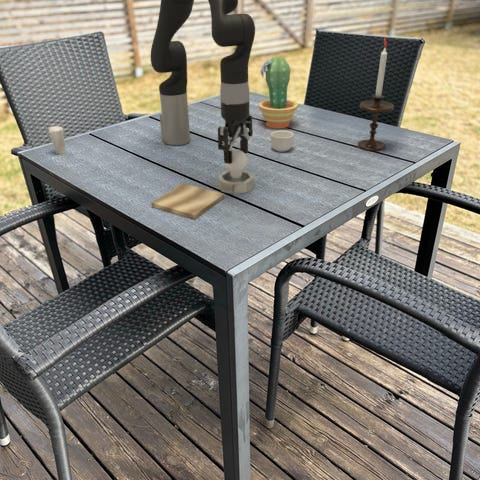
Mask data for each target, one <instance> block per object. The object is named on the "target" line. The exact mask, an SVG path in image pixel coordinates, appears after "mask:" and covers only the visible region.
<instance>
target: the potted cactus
mask: <svg viewBox="0 0 480 480" xmlns="http://www.w3.org/2000/svg"><path fill="white" fill-rule="evenodd" d="M291 69H292V68H291V66H290V64H289V63H288V61H287V60H286V57H284V56H283V57H282V56H281V55H280V56H274V57H273V56H272V58H270V59H268V60H266V61H264V63H263V65H262V67H261V69H260V74H261V77H262V78H264V77H265V82H266V84H267V88H268V95H269V99H267V100H262V101H260V102H259V103H257V105H258V106H257V107H258V109H259V110H260V111H261V115H262V117H263V118H264V120H265V121H266V123H265V125H266V127H268V128H270V129H285V128H288V127H289V126H290V121H291V120H292V119H293V118H294V115H295V113H296V111H297V110H298V108H299V103H298V102H296V101H294V100H291V99H288V86H289V84H290V83H289V82H290V80H291V79H290V77H291ZM264 73H265V75H264Z"/></svg>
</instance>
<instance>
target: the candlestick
mask: <svg viewBox="0 0 480 480" xmlns="http://www.w3.org/2000/svg"><path fill="white" fill-rule="evenodd" d="M383 42H384V43H383V47H384V48H383V50H382V51H381V53H380V59H379V68H378V74H377V81H376V88H375V94H374V95H371V97H372V98H374V99H371V100H362V101H361V102H359V108H360V109H361V110H363V111H364V112H370V113H373V115H372V116H373V117H372V122H371V123H369V127H370V130H369V131H368V133H369V134H370V137H369V139H362V140H359V141H358V142H357V148H358V149H360V150H363V151H366V152H381V151H383V150H384V149H385V148H386V144H385V143H384V142H383V141H380V140H376V139H375V136H376V134H377V133H378V132H377V130H376V129H378V127H379V123H377V122H378V115H379V114H381V113H383V114H384V113H389V112H392V111H394V108H395V104H394V103H392V102H389V101H387V100H386V101H385V100H382V99H384V98H385V96H384V95H383V94H382V93H383V88H384V87H383V86H384V78H385V73H386V65H387V64H386V63H387V60H388V52H387V45H388V44H387V39H386V37H384V38H383Z"/></svg>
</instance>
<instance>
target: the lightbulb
mask: <svg viewBox="0 0 480 480" xmlns="http://www.w3.org/2000/svg"><path fill="white" fill-rule="evenodd" d="M224 165H225V168H226V169H227V171H228V170H229V172H230V175H231V178H232V179H231V180H232V181H231V182H234V183H235V182H242V181H241V175H242V172H243V170H244V171H245V168H246V166H247V165H248V157H247V154H245V153H244V152H243V151H241V150H240V148H239V149H237V148H234V149H233V148H232V163H231V164H227V163H225V162H224Z"/></svg>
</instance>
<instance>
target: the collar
mask: <svg viewBox="0 0 480 480" xmlns="http://www.w3.org/2000/svg"><path fill="white" fill-rule="evenodd" d="M231 179H232V178H231V175H230V172H229V170H228V169H227V170H224V171H223V172H222V173H219V174H218V175H217V186H218V188H219V190H220V192H221V193H222V192H223V193H227V194H229V195H238V194H240V195H241V194H246V193H247V194H248V193H249V192H250V191H252V190H253V189H255V186H256V184H255V182H256V181H255V180H256V179H255V175H254V174H253V173H252V172H251V171H248V170H245V169H244V170H243V172H242V175H241V182H235V183H234V182H232V180H231Z"/></svg>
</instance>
